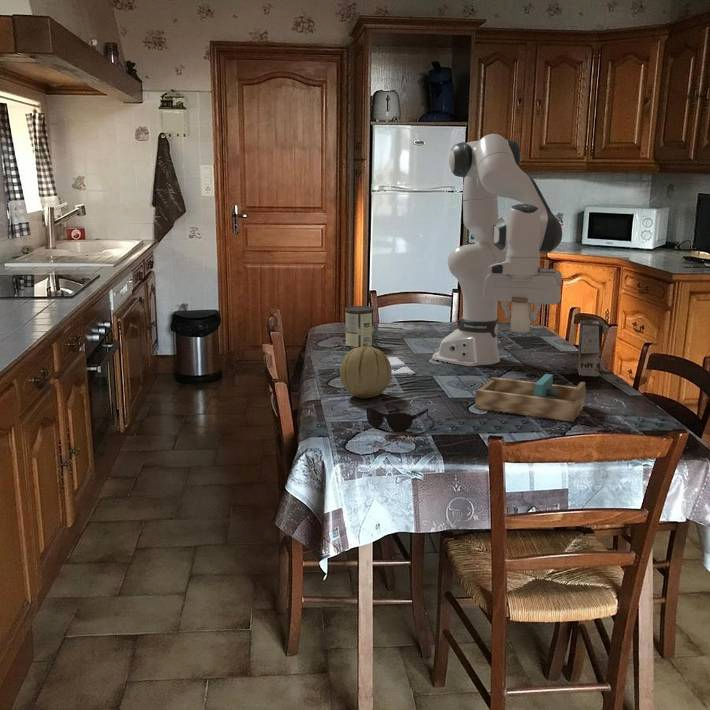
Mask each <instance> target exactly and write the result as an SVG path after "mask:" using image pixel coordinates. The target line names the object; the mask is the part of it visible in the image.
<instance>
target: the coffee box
mask: <svg viewBox="0 0 710 710" xmlns="http://www.w3.org/2000/svg"><path fill="white" fill-rule="evenodd" d="M603 333H604V325H603V322H602V321H601V320H599V319H598V320H594V319H589V320H582V319H581V320H579V333H578V349H577V364H576V366H577V367H576V369H577V373H578V375H579V376H580V375H581V376H582V377H585V376H586V377H597V376H598V377H600V373H601V361H602V348H603V347H602V346H603V335H604V334H603Z"/></svg>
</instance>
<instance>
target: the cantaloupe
mask: <svg viewBox="0 0 710 710" xmlns="http://www.w3.org/2000/svg"><path fill="white" fill-rule="evenodd" d="M363 346H365V347H358V348H354V349H350V351H348V352H347V353H346V354H345V356H344V357H343V358H342V361H341V364H340V366H339V368H340V370H339V377H340V381H341V384H342V386H343V387H344V389H345V390H346V391H347V392H349V393H350V394H351V395H352V396H354V397H356V398H360V399H364V398H366V399H370V398H375V397H378V396H379V395H381V394H383V393H384V391H386V390H387V388H388V386H389V385H390V383H391V380H392V377H393V376H392V370H391V365H390V362H389V360H388V358H387V355H386V354H385V353H384V352H383V351H382V350H380V349H379V348H376V347H369V346H368V345H367V344H365V343H363Z"/></svg>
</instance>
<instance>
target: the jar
mask: <svg viewBox="0 0 710 710" xmlns="http://www.w3.org/2000/svg"><path fill="white" fill-rule="evenodd" d="M527 302H528V298H520V297H512V302H510V303H511V305H510V311H511V318H510V325H509V326H510V327H509V328H510V329H509V330H510V332H513V333H529V332H530V331H531V320H529V318H530V316H529V315H530V313H532V303H527Z"/></svg>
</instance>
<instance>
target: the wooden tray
mask: <svg viewBox="0 0 710 710" xmlns="http://www.w3.org/2000/svg"><path fill="white" fill-rule="evenodd" d="M535 383H536V382H535V381H528V380H527V381H526V380H518V379H510V378H504V377H503V378H501V377H494V376H492V377H490V380H489V381H488V382H486V383H485V384H484V385H483V386H482V387H480V388H476V390H475V406H474V408H475V409H478V408H479V409H480V410H487V411H493V410H494V412H501V411H502V413H507V412H508V414H514V413H515V415H522V416H523V415H524V416H529V415H530V417H536V416H537V417H538V418H544V419H551V420H552V419H553V420H559V421H565V422H566V421H567V422H574V421H575V420H576V418H577V417H578V415H579V414H580V413H581V412H582V410H583V409H584V408H585V405H586V389H587V388H586V382H585V381H580V382H579V383H578V384H577V386H570V385H560V384H553V383H552V389H554V390H559V397H552V399H551V398H543V397H535V396H534V390H535ZM583 407H584V408H583ZM580 411H581V412H580Z"/></svg>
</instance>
